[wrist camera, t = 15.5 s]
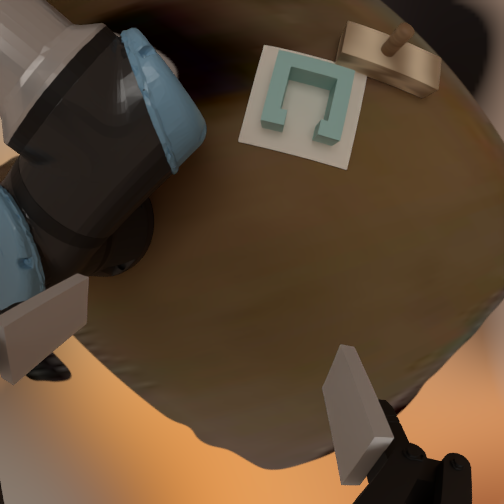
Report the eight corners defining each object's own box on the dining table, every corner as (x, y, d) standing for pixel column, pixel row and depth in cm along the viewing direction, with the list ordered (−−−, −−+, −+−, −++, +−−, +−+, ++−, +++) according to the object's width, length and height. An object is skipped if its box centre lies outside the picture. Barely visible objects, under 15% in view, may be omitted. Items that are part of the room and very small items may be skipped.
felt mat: (238, 141, 38) (238, 141, 38) (264, 45, 35) (264, 44, 35) (346, 170, 38) (346, 170, 38) (367, 73, 35) (367, 72, 35)
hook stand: (334, 66, 35) (354, 28, 24) (340, 36, 34) (360, -6, 23) (422, 98, 35) (464, 76, 24) (425, 69, 34) (465, 41, 23)
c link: (278, 64, 36) (278, 49, 31) (346, 82, 36) (355, 70, 31) (261, 127, 38) (260, 119, 33) (331, 145, 38) (340, 140, 33)
